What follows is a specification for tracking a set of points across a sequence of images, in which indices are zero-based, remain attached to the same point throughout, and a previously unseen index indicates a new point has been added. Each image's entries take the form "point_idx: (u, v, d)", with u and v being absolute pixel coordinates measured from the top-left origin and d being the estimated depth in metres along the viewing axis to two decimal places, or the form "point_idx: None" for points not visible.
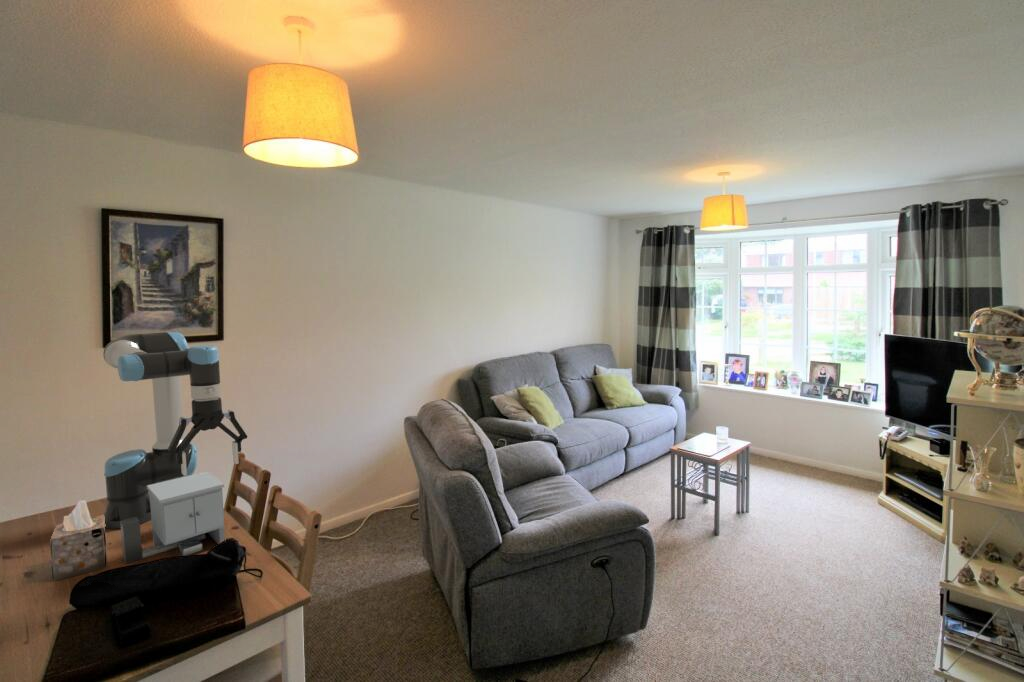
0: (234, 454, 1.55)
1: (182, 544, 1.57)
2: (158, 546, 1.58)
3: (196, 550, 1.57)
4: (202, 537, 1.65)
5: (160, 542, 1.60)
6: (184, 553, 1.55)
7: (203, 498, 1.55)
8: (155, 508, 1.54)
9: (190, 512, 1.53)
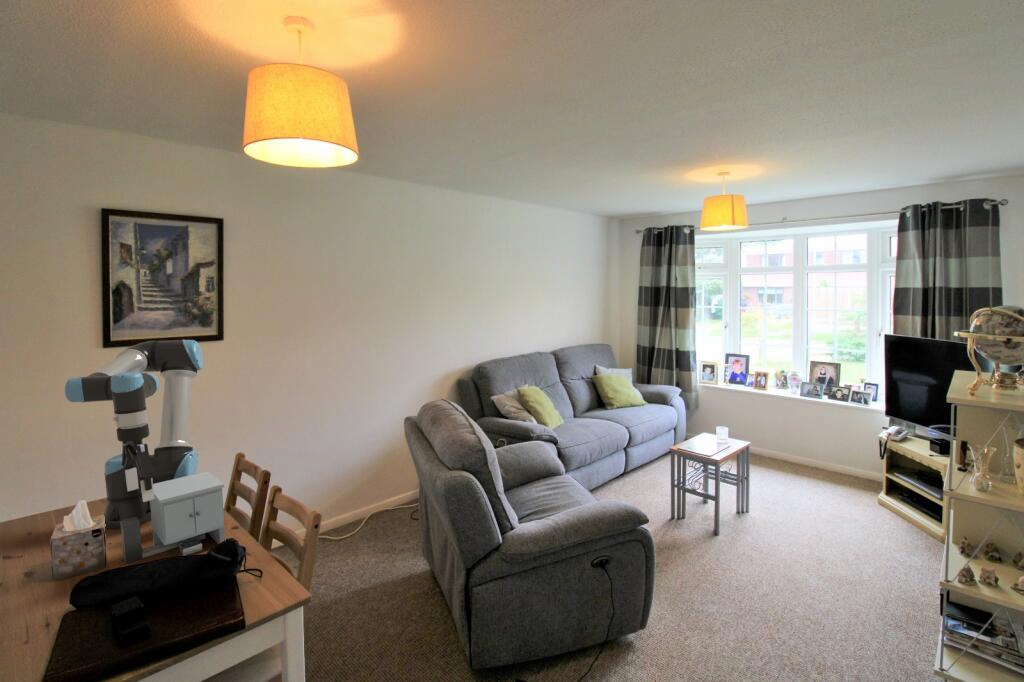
0: None
1: (182, 544, 1.57)
2: (158, 546, 1.58)
3: (196, 550, 1.57)
4: (202, 537, 1.65)
5: (160, 542, 1.60)
6: (184, 553, 1.55)
7: (203, 498, 1.55)
8: (155, 508, 1.54)
9: (190, 512, 1.53)
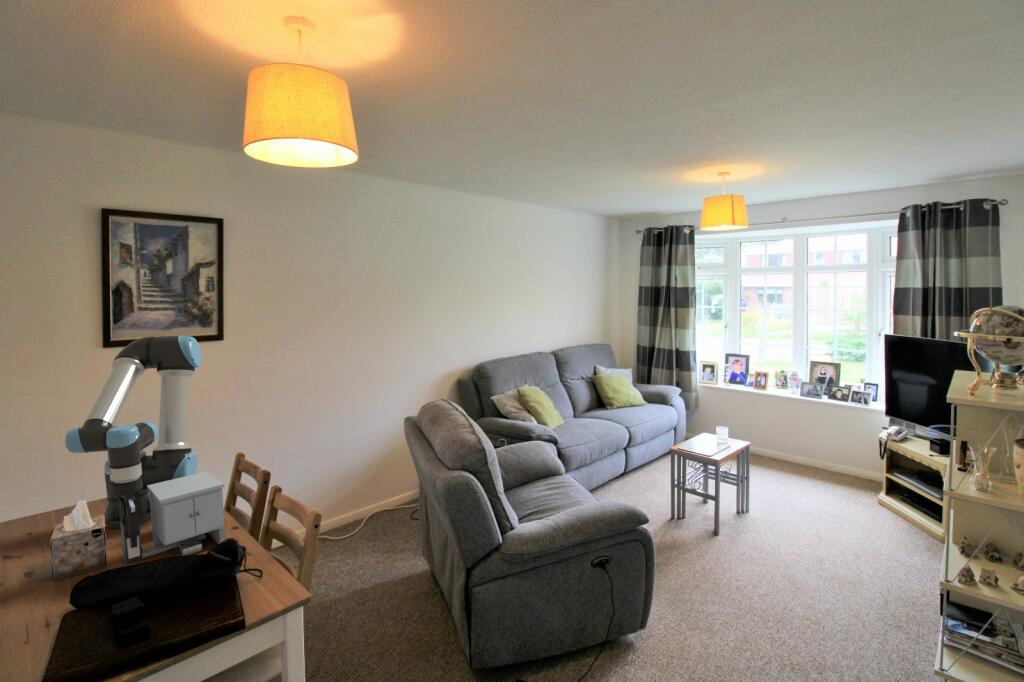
0: None
1: (182, 544, 1.57)
2: (158, 546, 1.58)
3: (196, 550, 1.57)
4: (202, 537, 1.65)
5: (160, 542, 1.60)
6: (183, 553, 1.55)
7: (203, 498, 1.55)
8: (155, 508, 1.54)
9: (190, 512, 1.53)
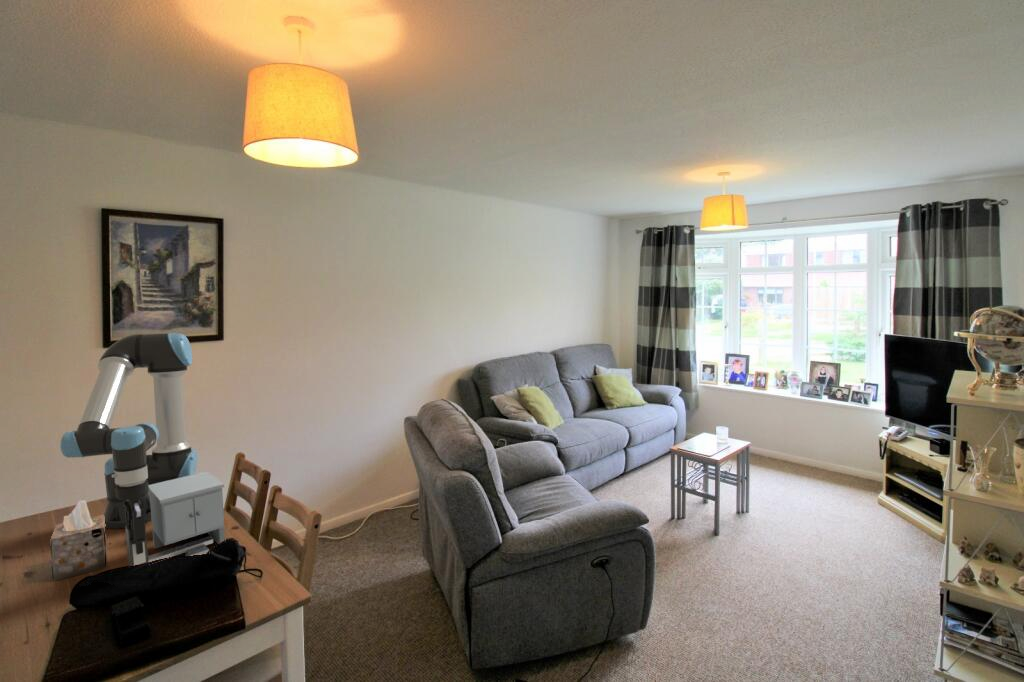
0: None
1: (189, 550, 1.53)
2: (164, 552, 1.52)
3: None
4: (210, 542, 1.59)
5: (160, 542, 1.60)
6: None
7: (203, 498, 1.55)
8: (155, 508, 1.54)
9: (190, 512, 1.53)
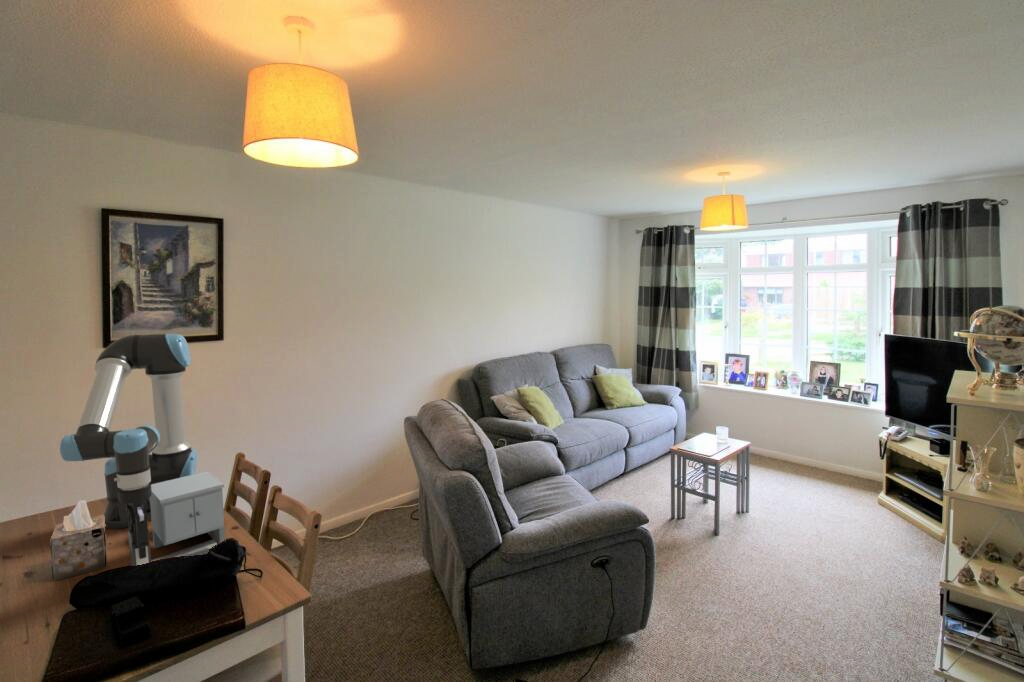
0: None
1: (192, 554, 1.52)
2: (168, 556, 1.50)
3: None
4: (213, 545, 1.57)
5: (160, 542, 1.60)
6: None
7: (203, 498, 1.55)
8: (155, 508, 1.54)
9: (190, 512, 1.53)
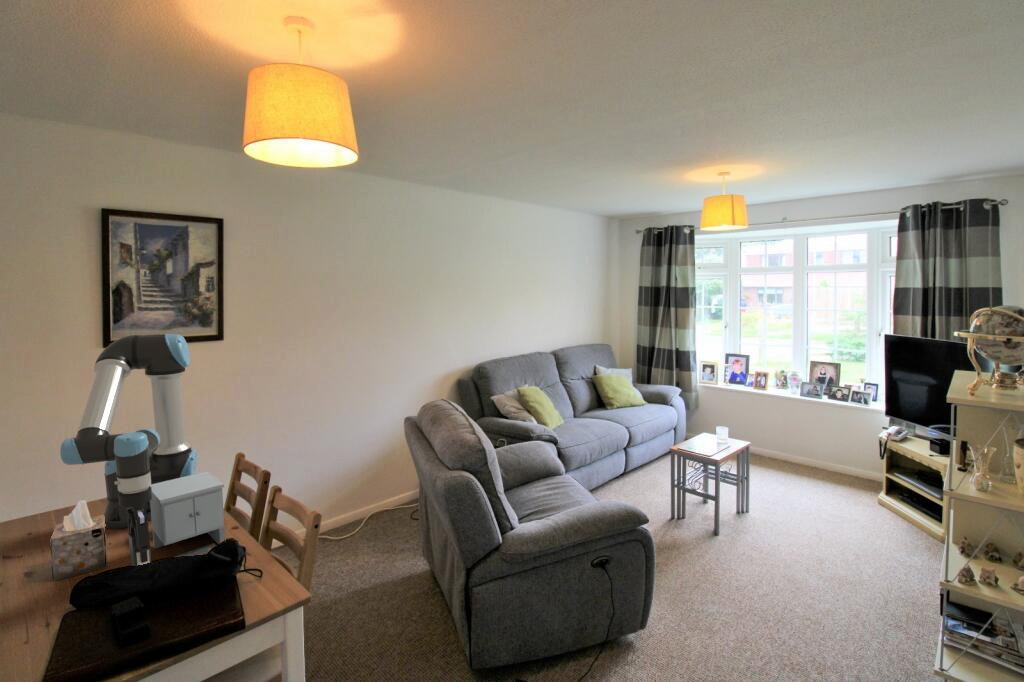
0: None
1: (192, 554, 1.52)
2: None
3: None
4: None
5: (160, 542, 1.60)
6: None
7: (203, 498, 1.55)
8: (155, 508, 1.54)
9: (190, 512, 1.53)
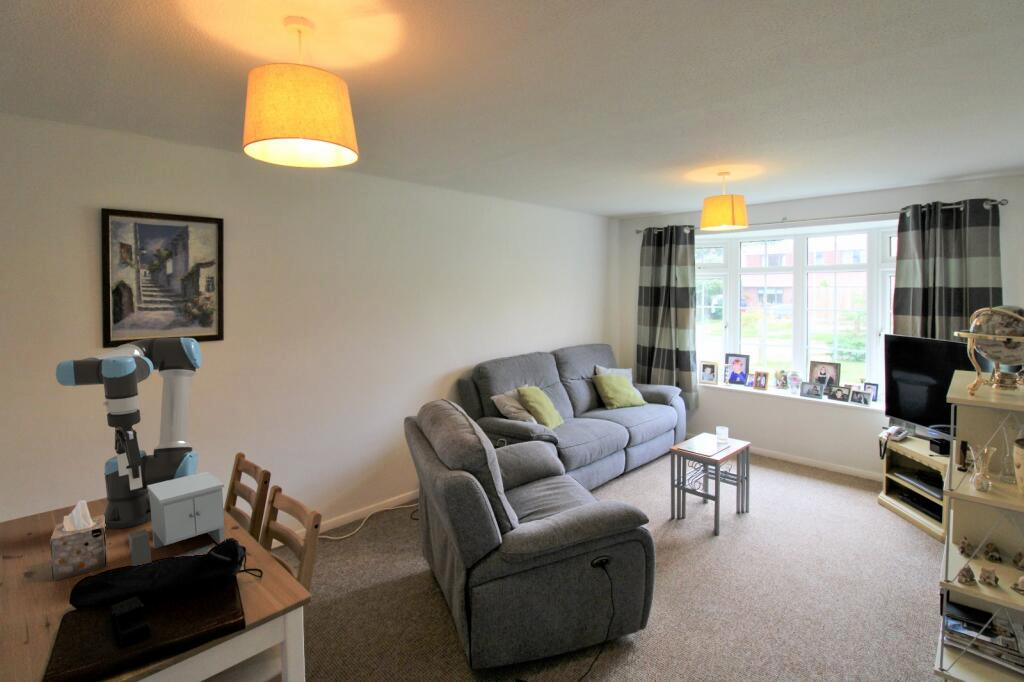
0: None
1: (192, 554, 1.52)
2: None
3: None
4: None
5: (160, 542, 1.60)
6: None
7: (203, 498, 1.55)
8: (155, 508, 1.54)
9: (190, 512, 1.53)
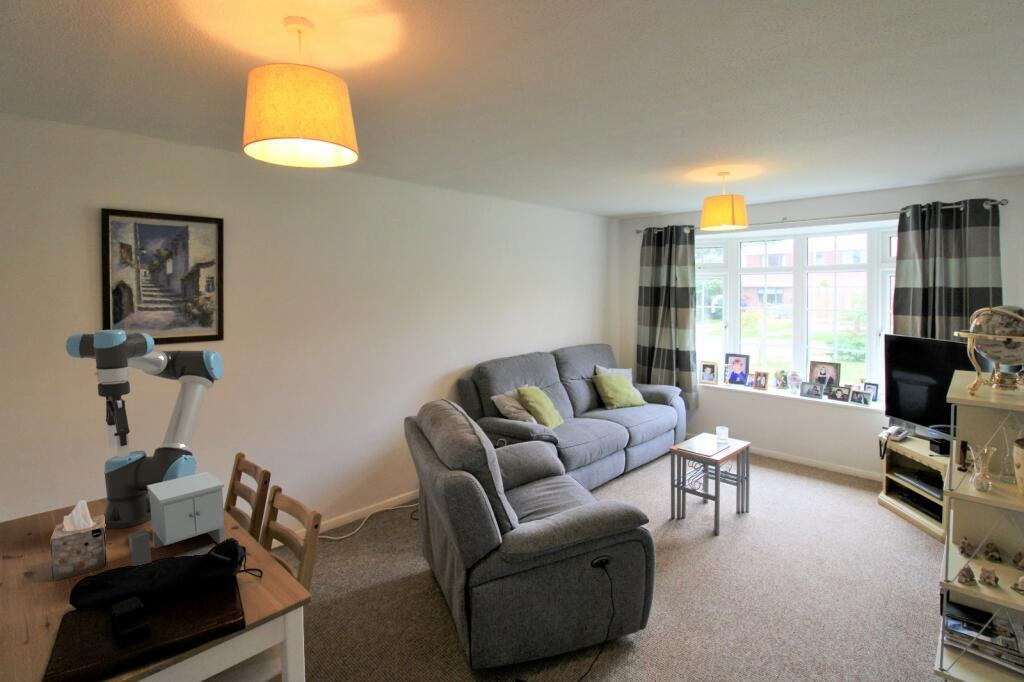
0: None
1: (192, 554, 1.52)
2: None
3: None
4: None
5: (160, 542, 1.60)
6: None
7: (203, 498, 1.55)
8: (155, 508, 1.54)
9: (190, 512, 1.53)
